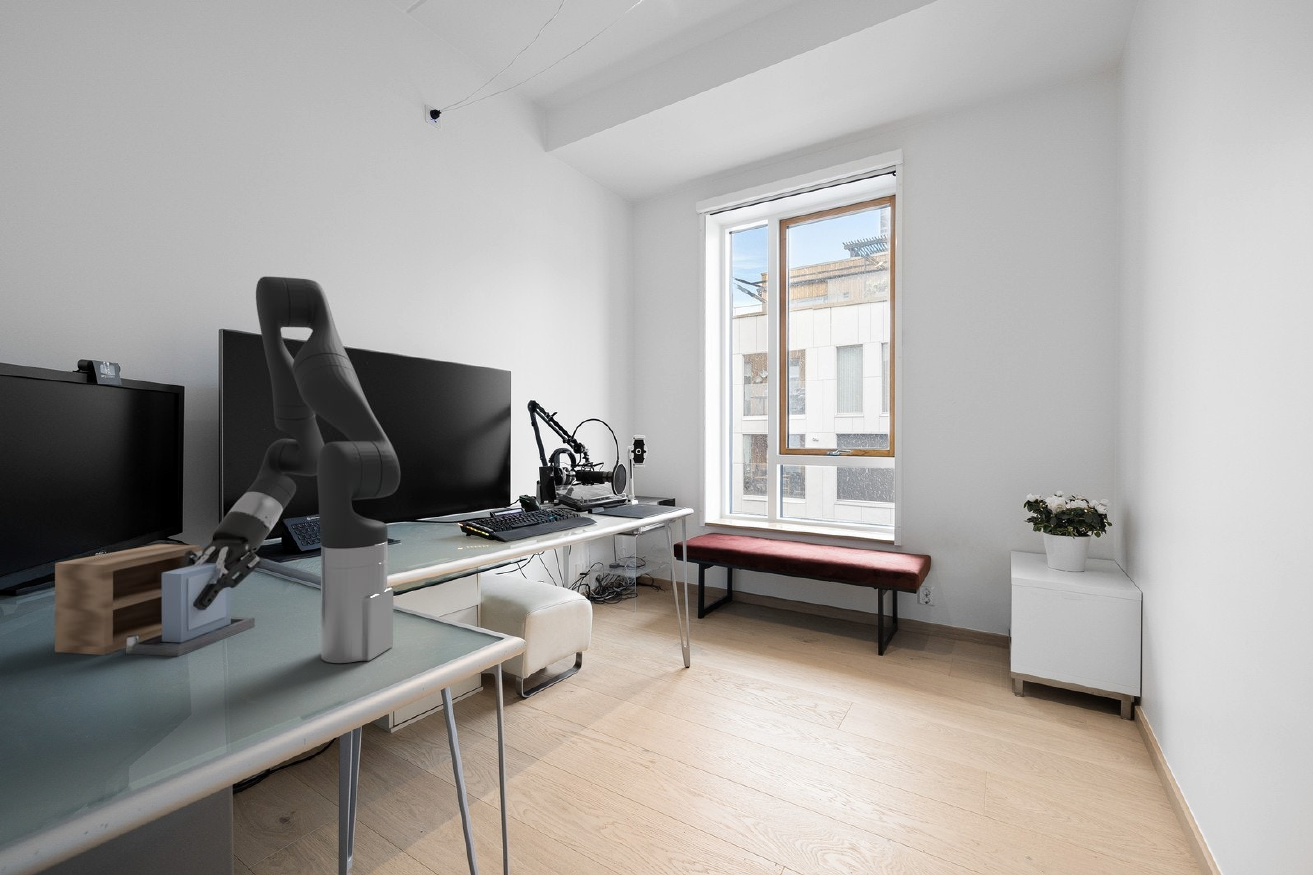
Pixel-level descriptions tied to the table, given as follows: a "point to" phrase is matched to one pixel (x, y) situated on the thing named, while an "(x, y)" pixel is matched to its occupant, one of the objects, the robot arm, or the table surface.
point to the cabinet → (112, 597)
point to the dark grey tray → (166, 649)
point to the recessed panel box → (191, 604)
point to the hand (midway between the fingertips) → (187, 607)
